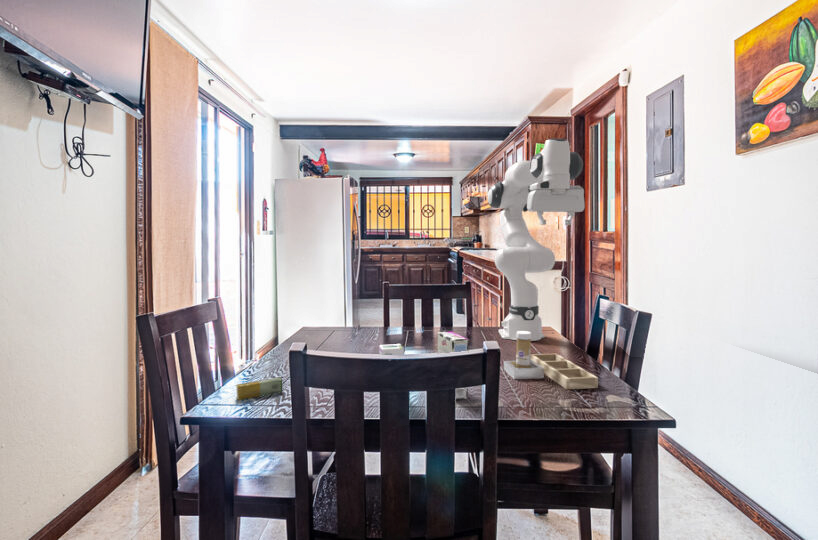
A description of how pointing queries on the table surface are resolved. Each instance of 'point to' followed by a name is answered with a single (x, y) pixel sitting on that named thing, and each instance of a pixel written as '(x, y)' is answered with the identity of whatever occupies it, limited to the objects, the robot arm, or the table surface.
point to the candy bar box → (453, 344)
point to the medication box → (259, 388)
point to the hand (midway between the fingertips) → (555, 224)
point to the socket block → (524, 370)
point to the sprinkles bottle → (523, 349)
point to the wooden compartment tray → (565, 372)
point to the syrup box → (391, 349)
